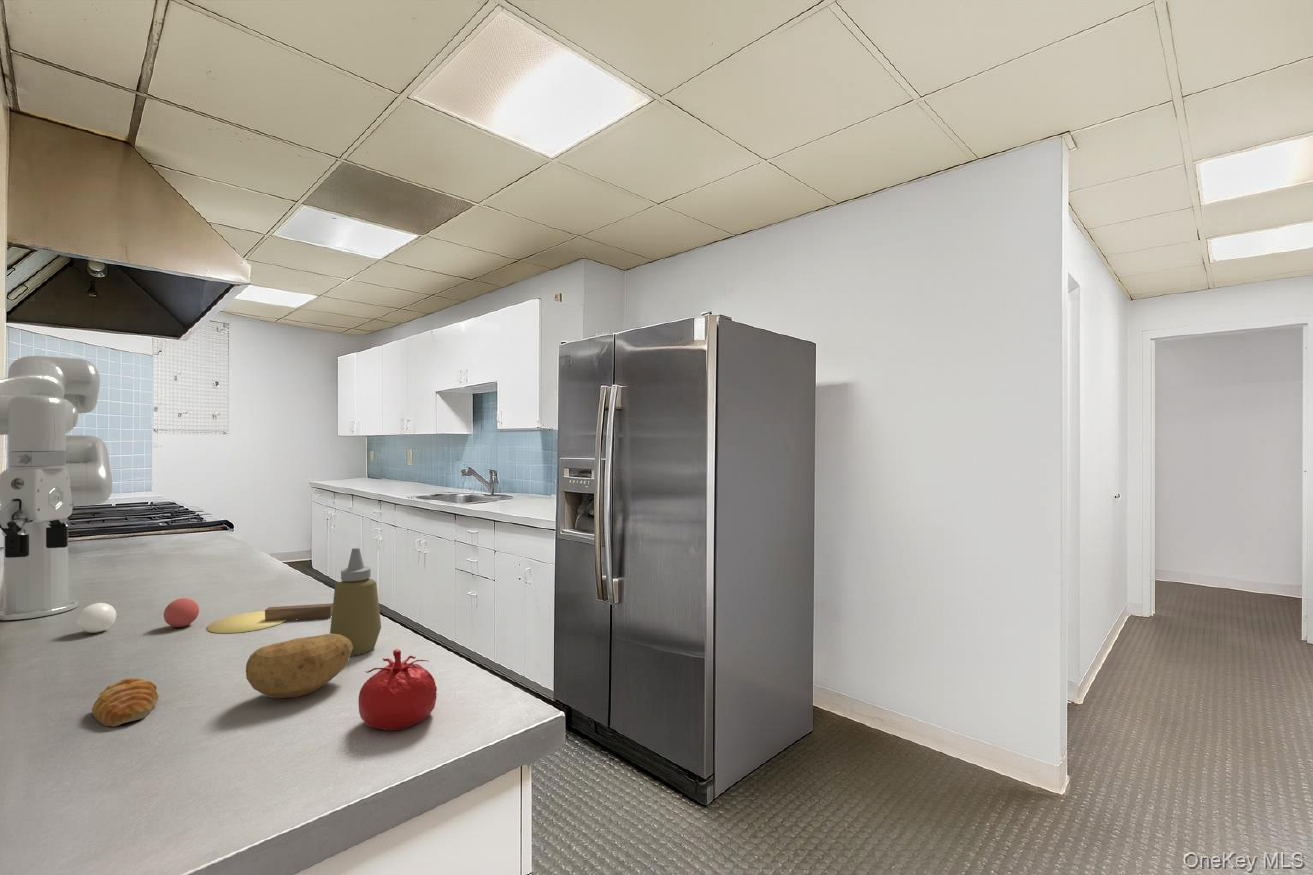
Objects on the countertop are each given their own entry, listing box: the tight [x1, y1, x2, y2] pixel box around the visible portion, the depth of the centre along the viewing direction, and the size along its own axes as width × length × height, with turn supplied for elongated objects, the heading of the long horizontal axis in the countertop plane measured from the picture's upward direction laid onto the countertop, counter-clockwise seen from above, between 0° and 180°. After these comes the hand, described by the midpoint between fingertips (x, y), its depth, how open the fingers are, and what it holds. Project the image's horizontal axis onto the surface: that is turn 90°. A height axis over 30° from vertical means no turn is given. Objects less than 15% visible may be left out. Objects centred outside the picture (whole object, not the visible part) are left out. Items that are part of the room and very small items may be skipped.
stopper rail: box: [264, 602, 333, 621], centre depth 122 cm, size 2×12×2 cm, turn 104°
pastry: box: [91, 677, 160, 728], centre depth 81 cm, size 9×7×4 cm
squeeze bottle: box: [329, 547, 382, 657], centre depth 104 cm, size 8×8×18 cm
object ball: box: [163, 597, 200, 628], centre depth 117 cm, size 6×6×6 cm
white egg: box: [76, 602, 117, 634], centre depth 114 cm, size 6×6×6 cm
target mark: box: [206, 610, 287, 634], centre depth 120 cm, size 14×14×1 cm
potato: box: [245, 633, 353, 699], centre depth 87 cm, size 10×14×8 cm
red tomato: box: [357, 649, 438, 731], centre depth 79 cm, size 10×10×9 cm
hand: (37, 552), depth 112 cm, fingers open, 9 cm apart
